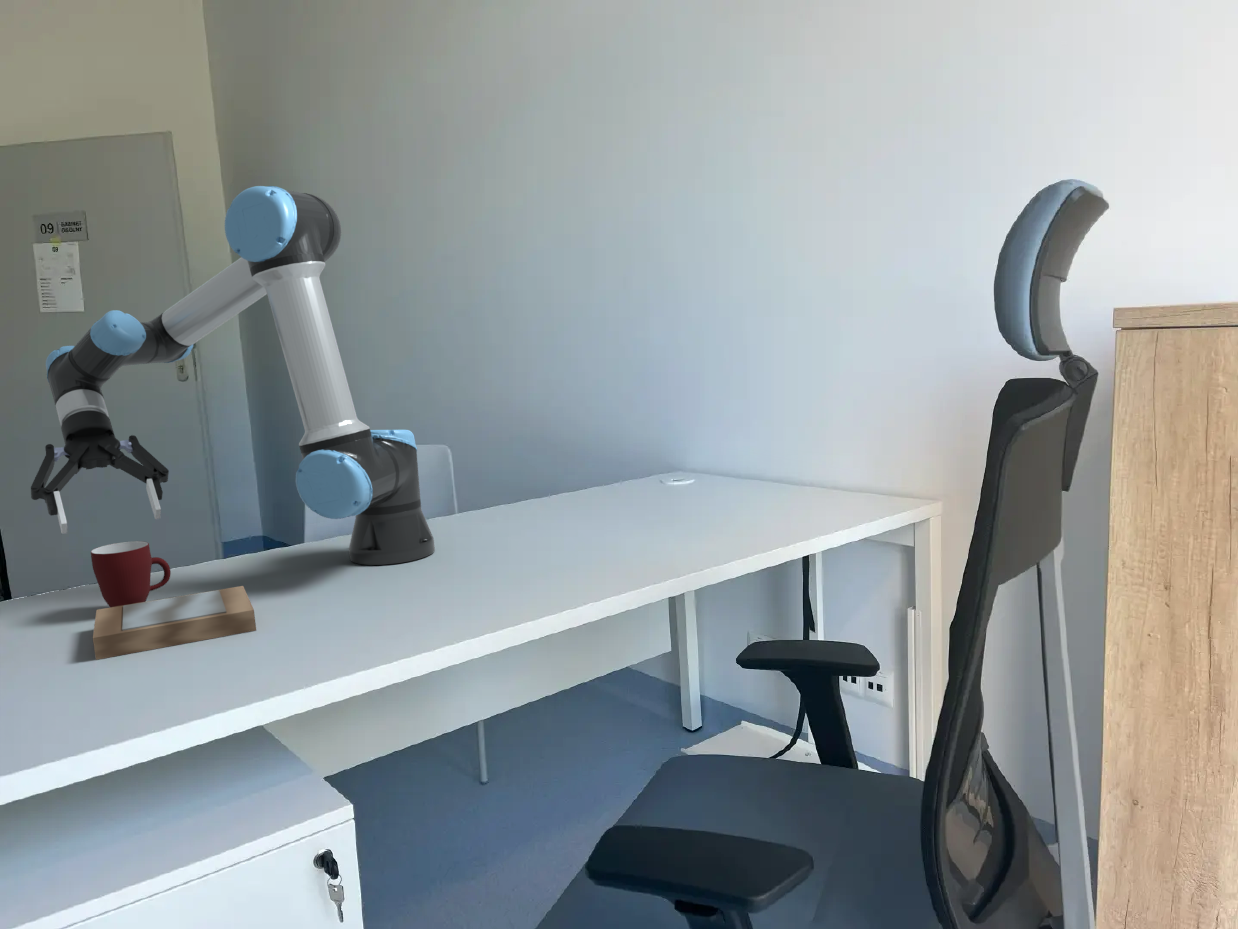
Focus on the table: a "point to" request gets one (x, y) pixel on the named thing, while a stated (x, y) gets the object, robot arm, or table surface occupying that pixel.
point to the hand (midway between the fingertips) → (112, 521)
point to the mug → (126, 572)
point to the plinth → (172, 621)
